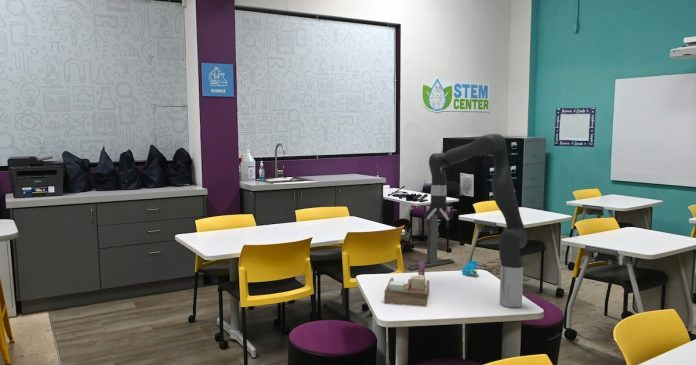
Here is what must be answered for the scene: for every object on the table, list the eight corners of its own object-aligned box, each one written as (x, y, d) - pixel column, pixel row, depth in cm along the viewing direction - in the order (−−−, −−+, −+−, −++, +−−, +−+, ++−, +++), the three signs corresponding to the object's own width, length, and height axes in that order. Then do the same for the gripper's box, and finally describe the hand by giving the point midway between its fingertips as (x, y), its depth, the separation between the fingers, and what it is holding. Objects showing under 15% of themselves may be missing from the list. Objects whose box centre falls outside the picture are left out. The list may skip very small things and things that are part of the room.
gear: (458, 269, 289) (471, 256, 289) (464, 276, 290) (478, 263, 290) (466, 277, 278) (480, 264, 278) (473, 284, 280) (487, 271, 280)
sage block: (390, 291, 241) (391, 280, 241) (404, 292, 240) (404, 281, 239) (389, 295, 235) (389, 284, 235) (402, 296, 234) (403, 285, 233)
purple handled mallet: (415, 278, 272) (415, 260, 271) (427, 279, 270) (428, 261, 270) (410, 293, 245) (411, 274, 245) (424, 294, 244) (424, 275, 243)
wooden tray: (390, 289, 256) (390, 277, 255) (429, 291, 252) (429, 280, 252) (384, 303, 234) (384, 290, 234) (426, 306, 231) (426, 293, 230)
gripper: (423, 194, 261) (422, 227, 262) (453, 195, 258) (452, 229, 259) (424, 192, 268) (423, 225, 269) (453, 193, 265) (452, 226, 267)
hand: (437, 227), depth 264 cm, fingers open, 8 cm apart
